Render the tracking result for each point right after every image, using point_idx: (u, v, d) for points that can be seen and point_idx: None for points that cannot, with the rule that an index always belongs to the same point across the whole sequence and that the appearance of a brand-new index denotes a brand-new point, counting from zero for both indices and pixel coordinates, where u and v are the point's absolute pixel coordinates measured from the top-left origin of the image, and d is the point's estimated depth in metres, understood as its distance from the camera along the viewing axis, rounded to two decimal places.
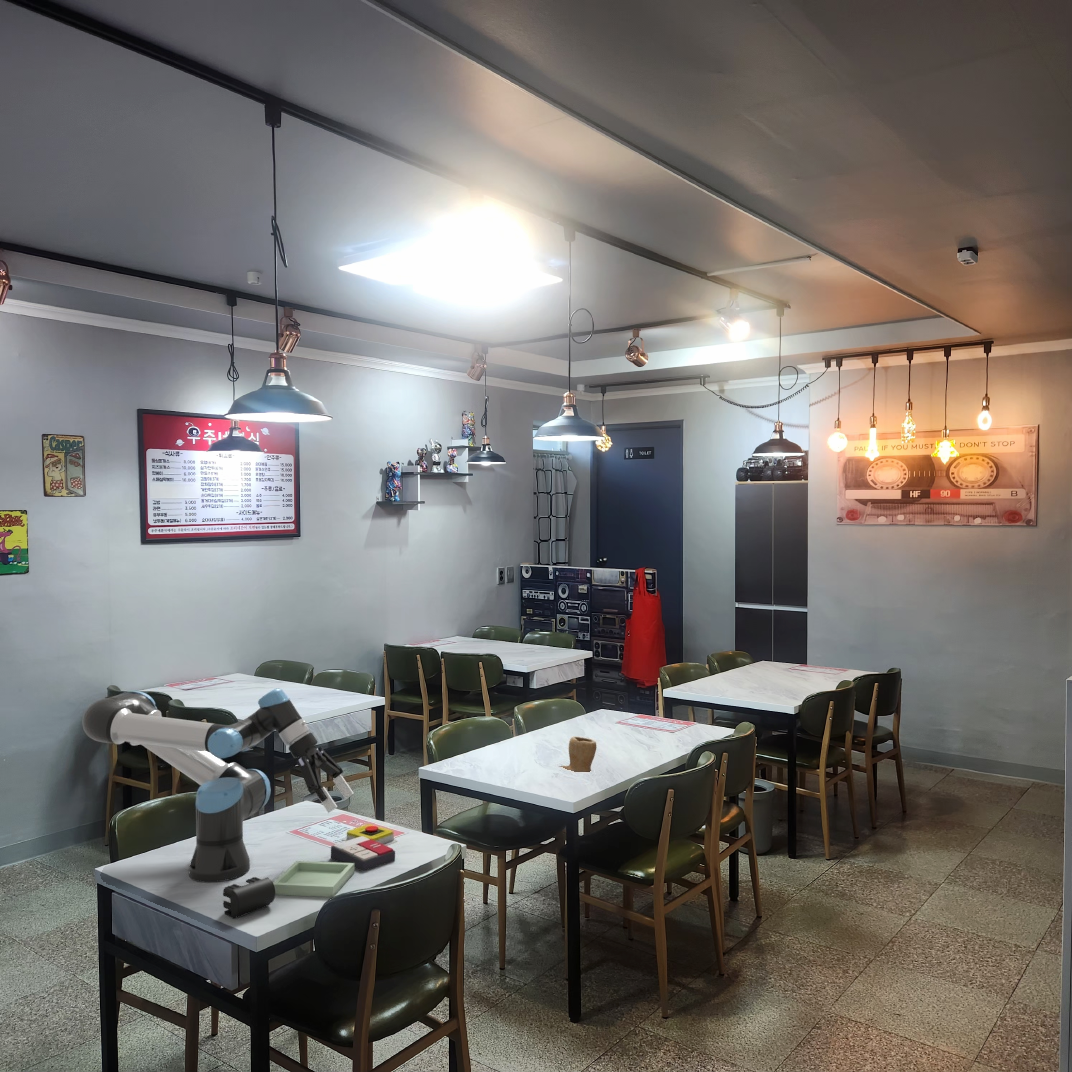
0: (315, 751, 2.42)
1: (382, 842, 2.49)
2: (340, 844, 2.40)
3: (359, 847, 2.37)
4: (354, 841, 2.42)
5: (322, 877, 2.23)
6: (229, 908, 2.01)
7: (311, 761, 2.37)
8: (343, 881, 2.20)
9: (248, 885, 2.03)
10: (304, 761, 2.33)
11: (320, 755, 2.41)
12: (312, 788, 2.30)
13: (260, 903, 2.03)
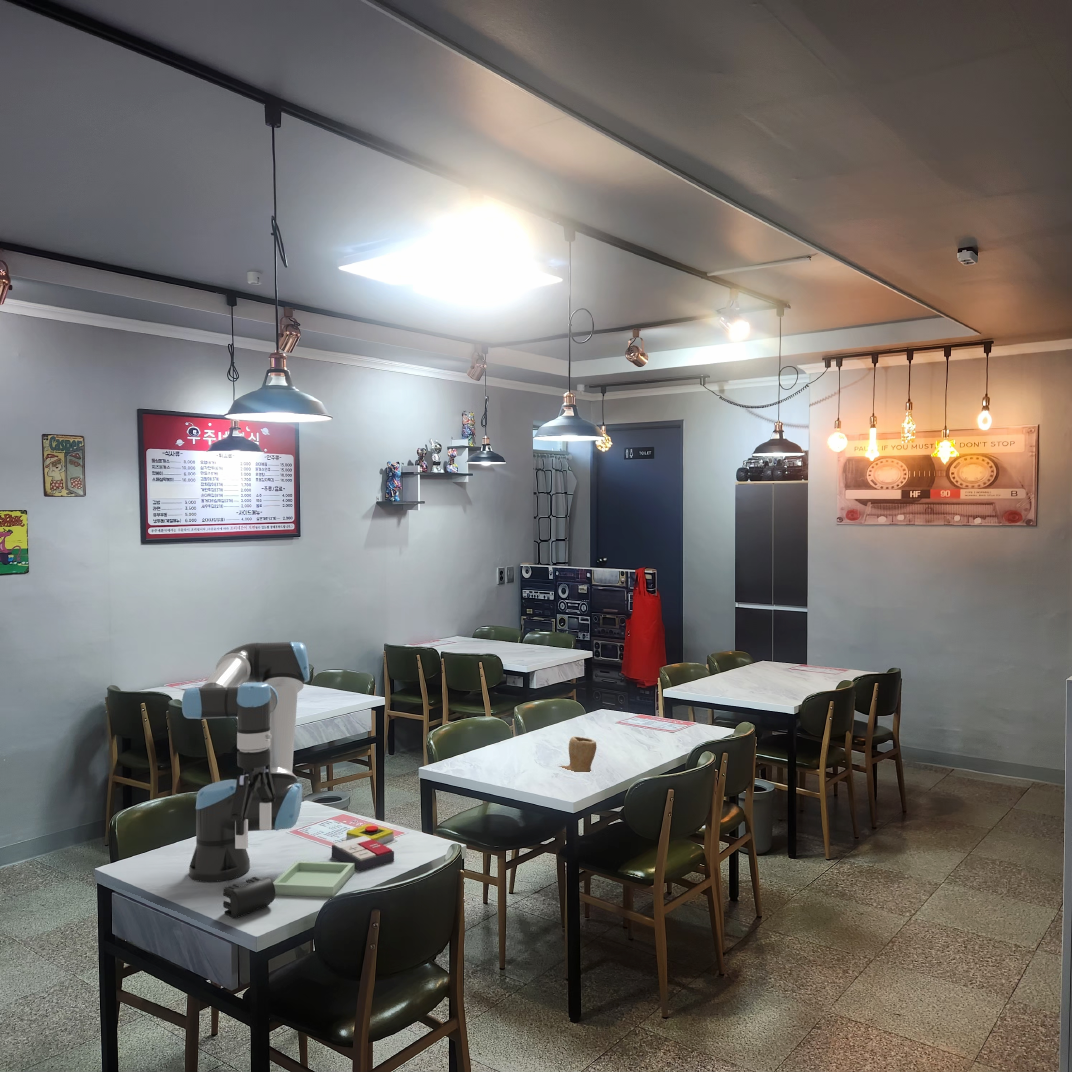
0: (261, 769, 2.08)
1: (382, 842, 2.50)
2: (341, 843, 2.40)
3: (359, 847, 2.38)
4: (355, 841, 2.42)
5: (322, 877, 2.23)
6: (229, 908, 2.01)
7: (251, 782, 2.02)
8: (343, 881, 2.20)
9: (248, 885, 2.03)
10: (245, 782, 1.99)
11: (264, 777, 2.07)
12: (235, 818, 1.95)
13: (260, 903, 2.03)
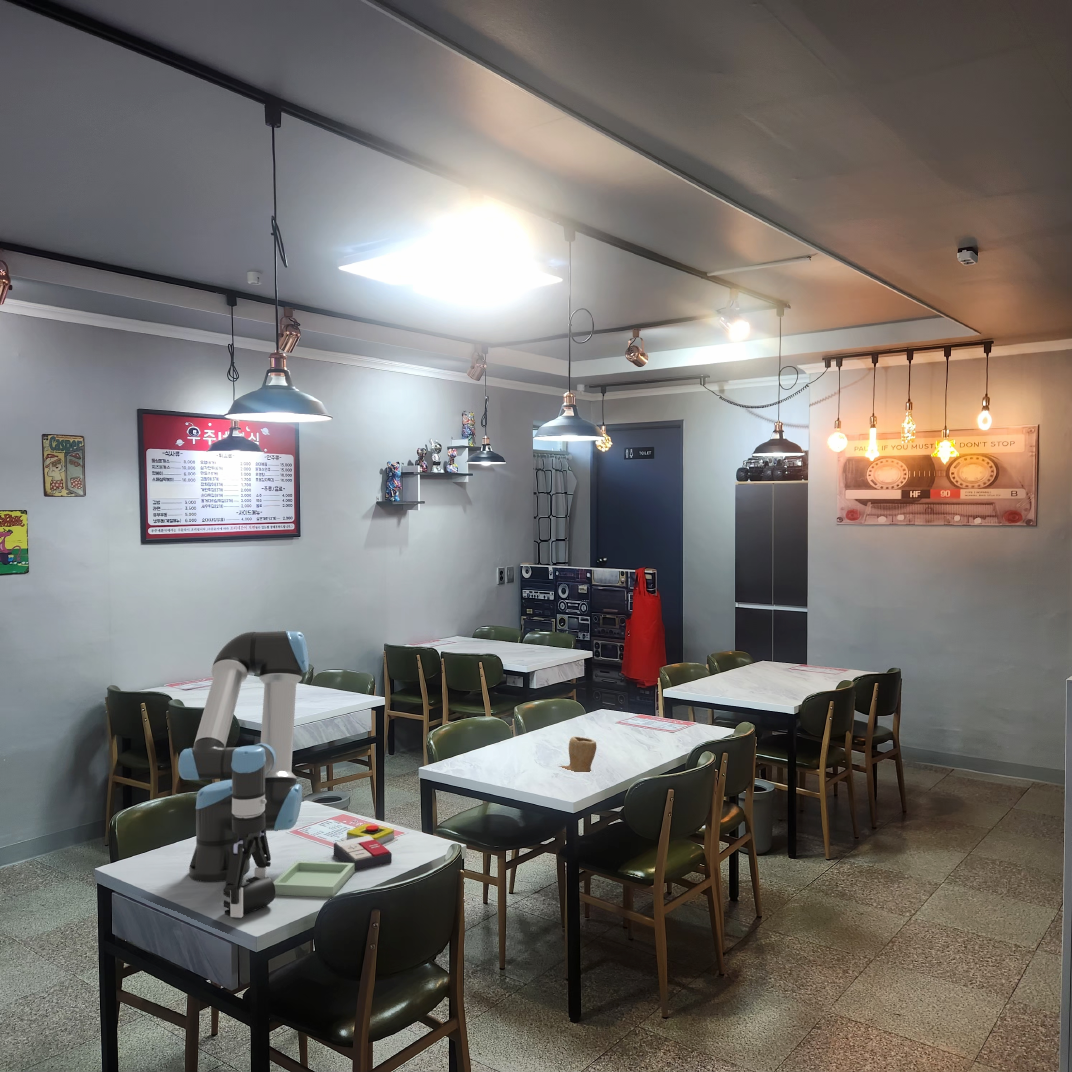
0: (256, 833, 2.06)
1: (384, 841, 2.50)
2: (342, 842, 2.41)
3: (358, 846, 2.38)
4: (357, 840, 2.43)
5: (322, 877, 2.23)
6: (229, 907, 2.02)
7: (246, 848, 2.01)
8: (343, 881, 2.20)
9: (248, 884, 2.03)
10: (239, 851, 1.98)
11: (259, 842, 2.06)
12: (230, 887, 1.95)
13: (260, 902, 2.03)
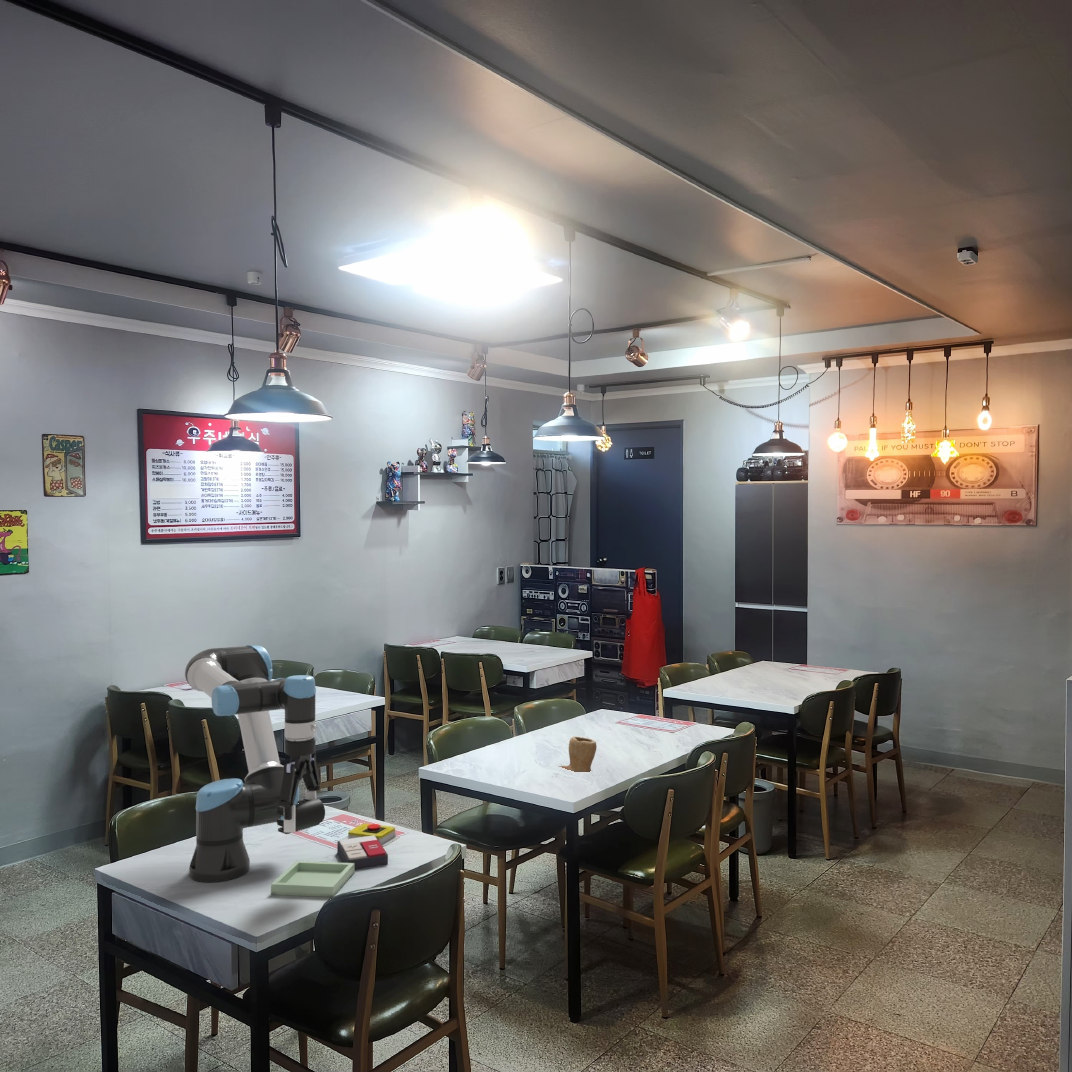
0: (307, 757, 2.20)
1: (387, 839, 2.52)
2: (346, 840, 2.43)
3: (358, 846, 2.38)
4: (361, 839, 2.44)
5: (322, 877, 2.23)
6: (282, 825, 2.15)
7: (298, 769, 2.14)
8: (343, 881, 2.20)
9: (300, 804, 2.16)
10: (291, 770, 2.11)
11: (309, 765, 2.19)
12: (283, 803, 2.08)
13: (311, 821, 2.16)
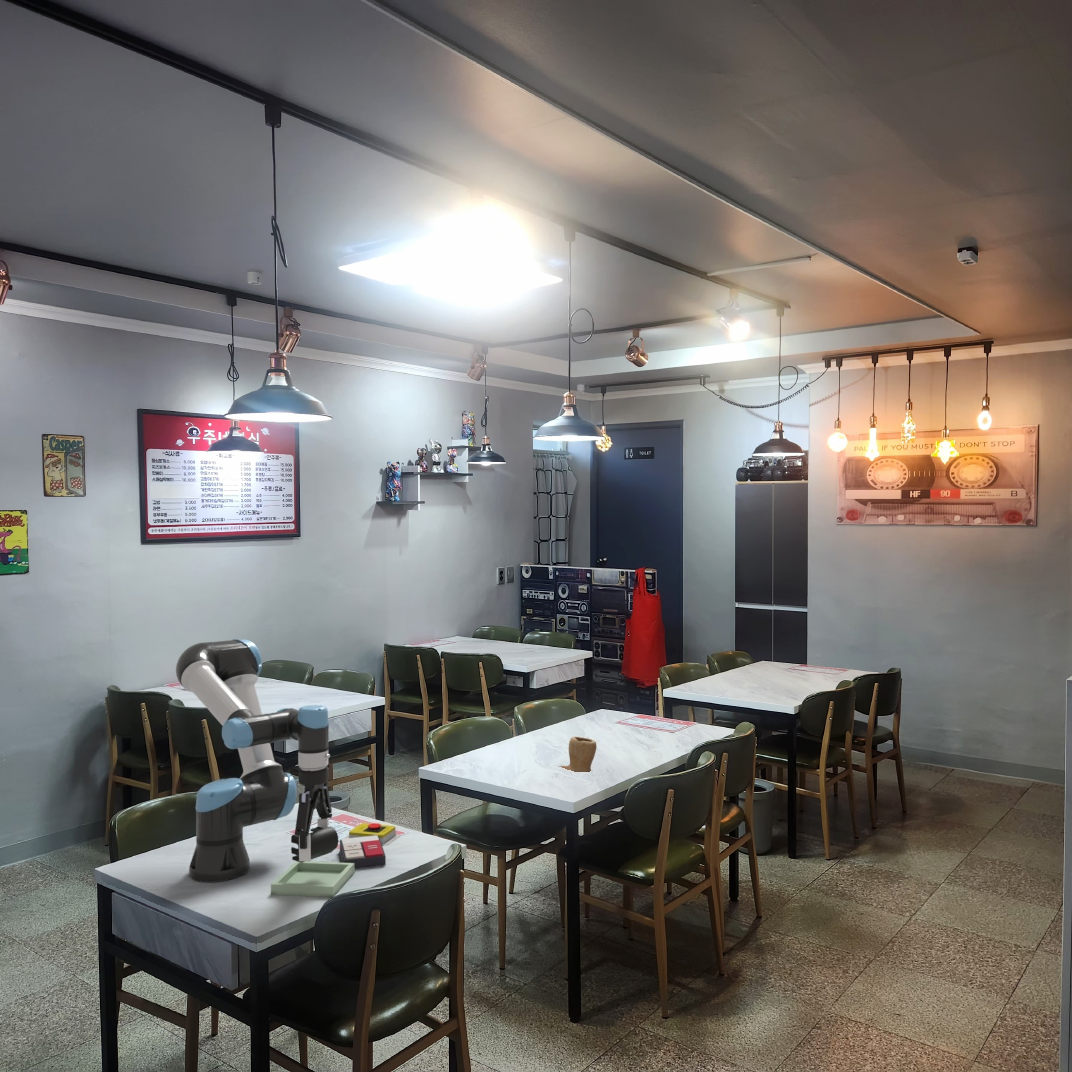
0: (320, 786, 2.23)
1: (389, 837, 2.53)
2: (348, 839, 2.43)
3: (358, 845, 2.39)
4: (363, 839, 2.44)
5: (322, 877, 2.23)
6: (297, 853, 2.18)
7: (312, 798, 2.18)
8: (343, 881, 2.20)
9: (314, 832, 2.20)
10: (306, 800, 2.15)
11: (322, 793, 2.22)
12: (299, 833, 2.12)
13: (325, 849, 2.20)
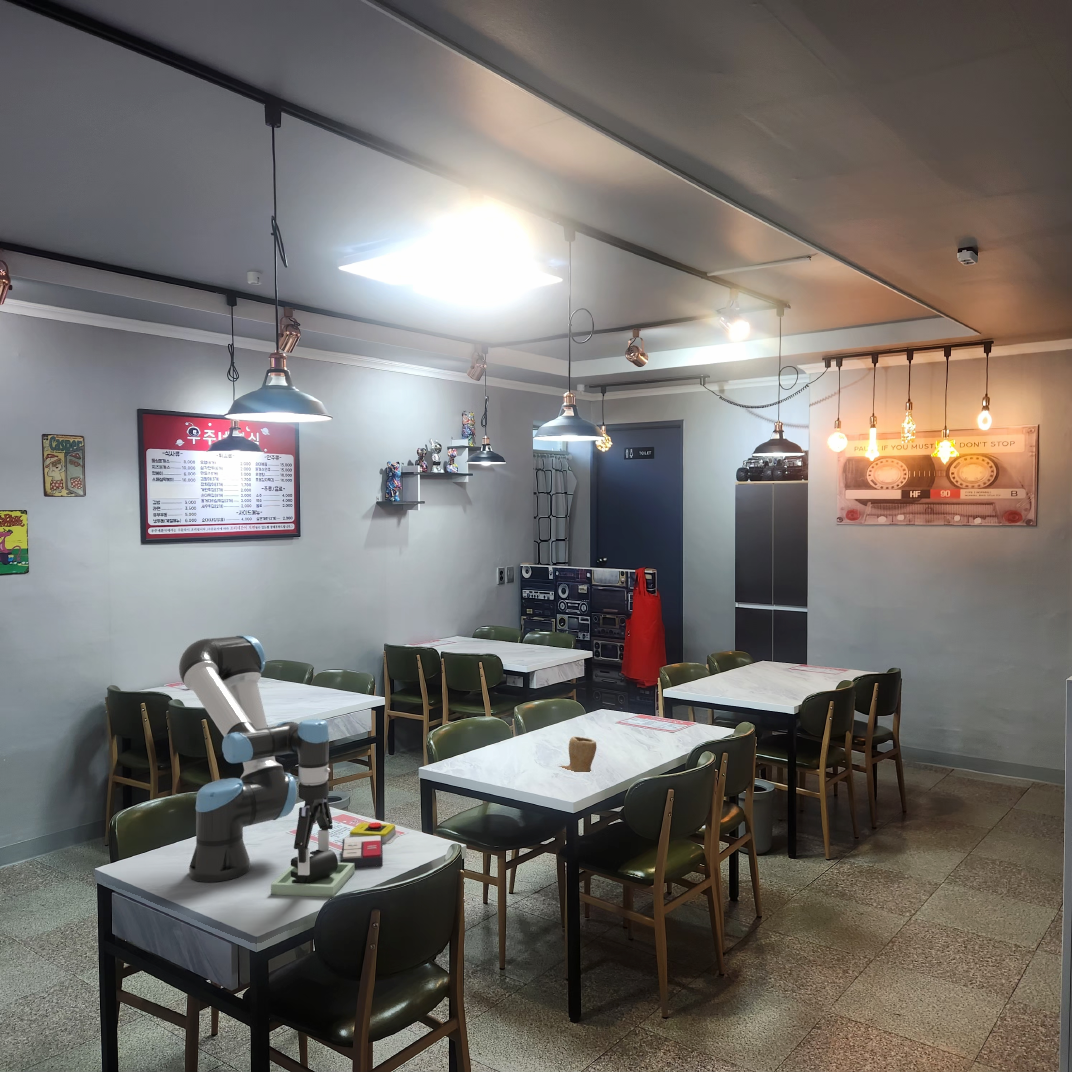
0: (320, 800, 2.23)
1: (390, 836, 2.55)
2: (350, 838, 2.44)
3: (358, 845, 2.39)
4: (365, 838, 2.44)
5: None
6: (297, 877, 2.18)
7: (312, 813, 2.18)
8: (343, 881, 2.20)
9: (314, 856, 2.20)
10: (306, 813, 2.14)
11: (322, 808, 2.22)
12: (298, 847, 2.11)
13: (324, 873, 2.20)
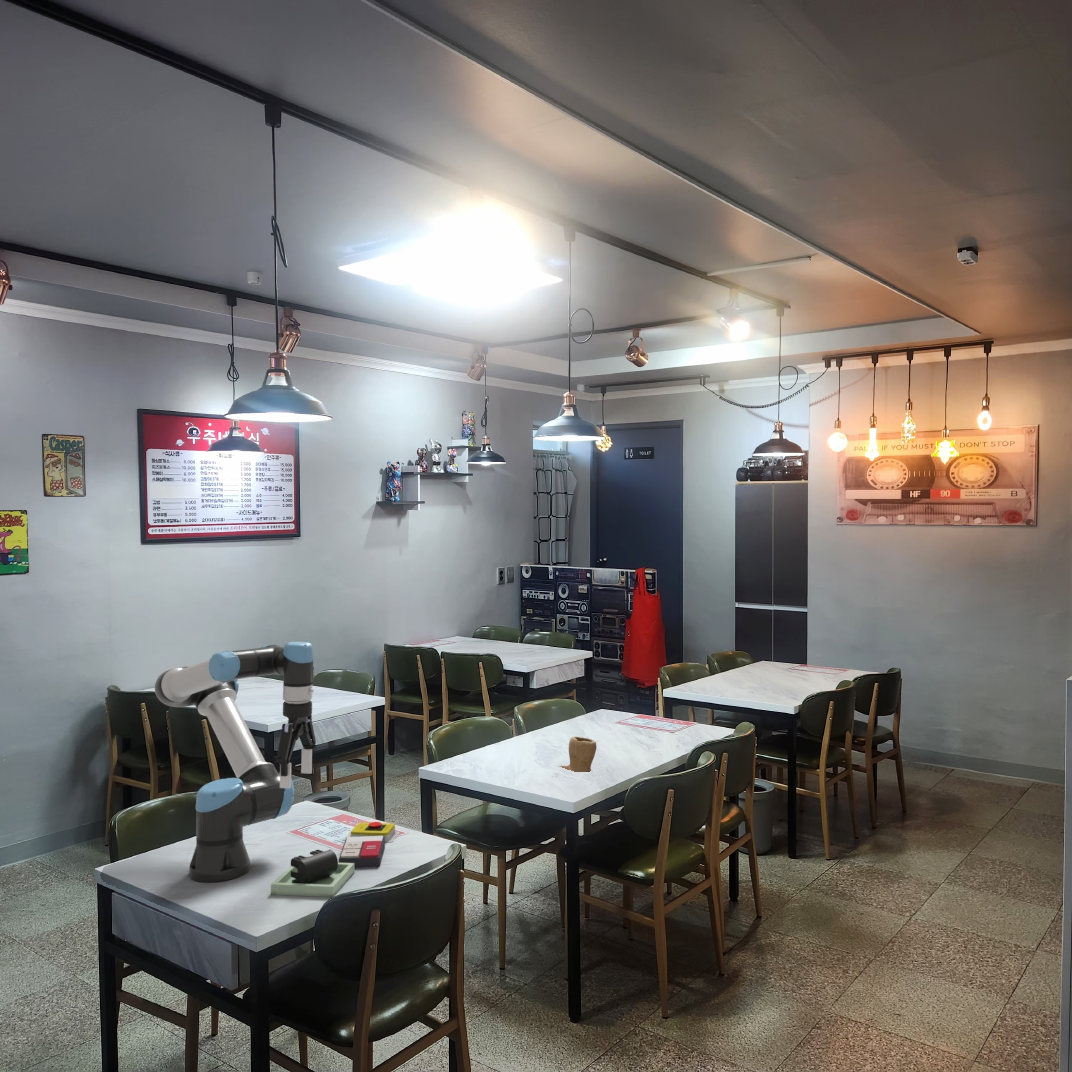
0: (304, 719, 2.31)
1: (391, 835, 2.56)
2: (353, 838, 2.45)
3: (358, 845, 2.39)
4: (367, 838, 2.44)
5: None
6: (297, 877, 2.18)
7: (295, 730, 2.26)
8: (343, 881, 2.20)
9: (314, 856, 2.20)
10: (289, 730, 2.23)
11: (306, 726, 2.31)
12: (280, 760, 2.20)
13: (324, 873, 2.20)
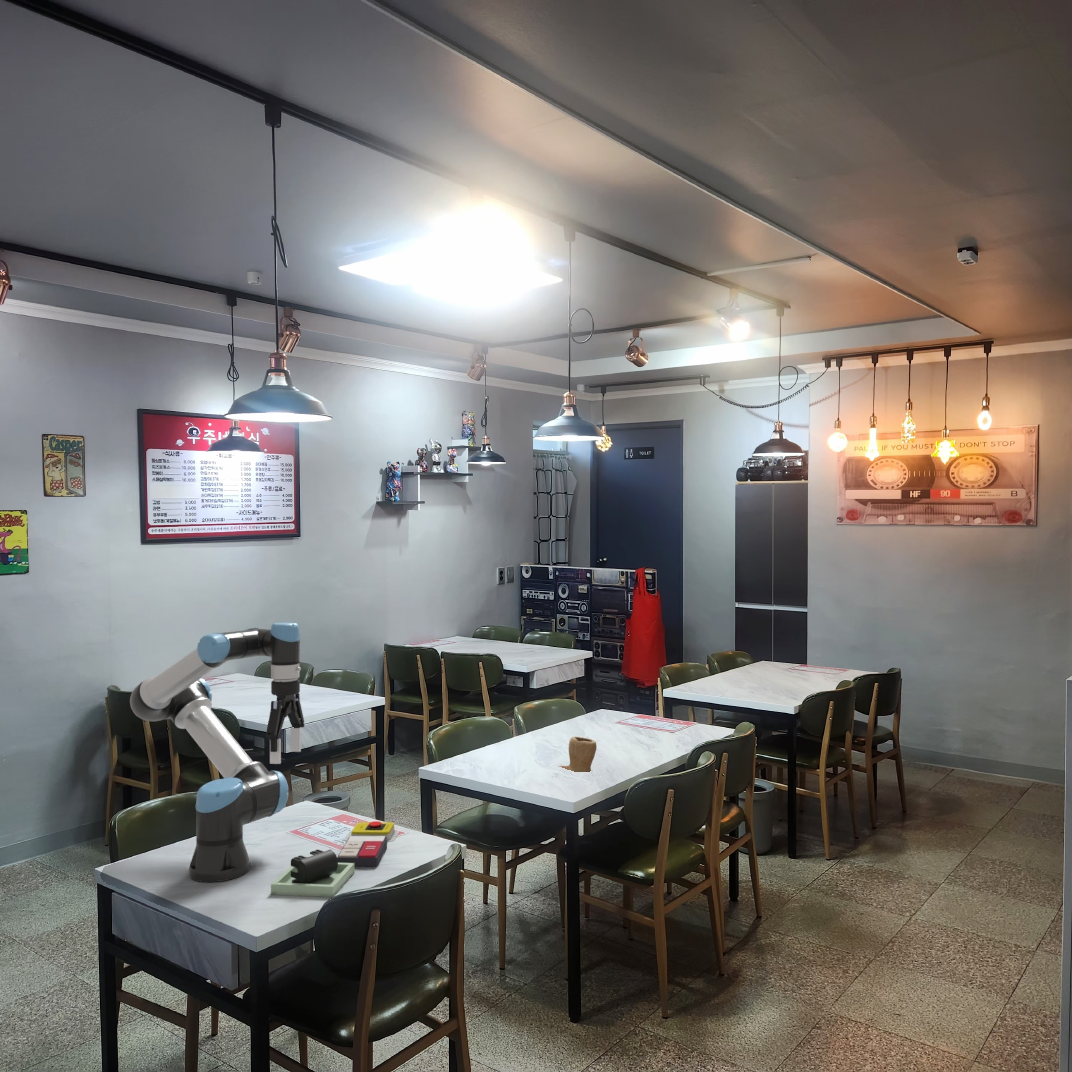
0: (292, 698, 2.38)
1: (391, 834, 2.56)
2: (355, 837, 2.45)
3: (358, 844, 2.39)
4: (369, 838, 2.44)
5: None
6: (297, 877, 2.18)
7: (283, 708, 2.33)
8: (343, 881, 2.20)
9: (314, 856, 2.20)
10: (278, 706, 2.29)
11: (294, 704, 2.37)
12: (270, 736, 2.26)
13: (324, 873, 2.20)
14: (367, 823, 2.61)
